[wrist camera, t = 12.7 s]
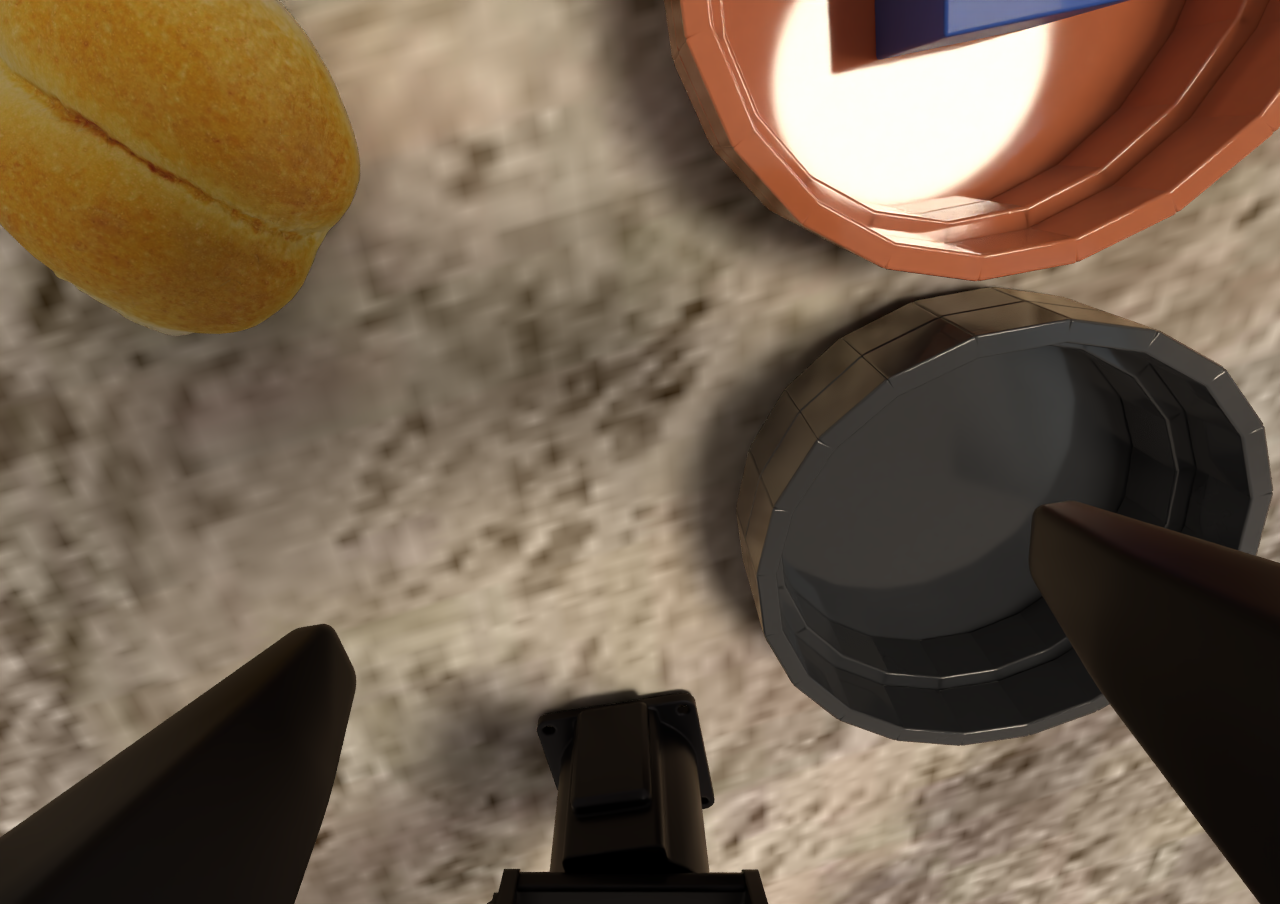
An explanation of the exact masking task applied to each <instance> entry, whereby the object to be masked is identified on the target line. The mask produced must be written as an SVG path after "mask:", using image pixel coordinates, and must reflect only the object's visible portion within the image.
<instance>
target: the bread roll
mask: <svg viewBox="0 0 1280 904" xmlns="http://www.w3.org/2000/svg"><path fill="white" fill-rule="evenodd" d="M359 178H360V161H359V153H358V148H357V144H356V140H355V136H354V132H353V130H352V127H351V124H350V121H349V118H348V115H347V113H346V110H345V107H344V105H343V102H342V100H341V98H340V95H339V93H338V90H337V88H336V86H335V84H334V81H333V79H332V77H331V75H330V73H329V71H328V69H327V68H326V66H325V64H324V63H323V61H322V59H321V58H320V56H319V54H318V52H317V51H316V49H315V47H314V46H313V44H312V42H311V41H310V39H309V37H308V36H307V35H306V33H305V32H304V31H303V30H302V28H301V27H300V26H299V24H298V23H297V22H296V20H295V19H294V18H293V16H292V15H291V14H290V13H289V12H288V10H287V9H286V8H285V7H284V6H283V5H282V4H281V3H280V2H279V1H277V0H0V224H1V225H2V226H3V228H4V229H6V230H7V231H8V232H9V233H10V234H11V235H12V236H13V237H14V238H15V239H16V240H17V241H18V242H19V243H20V244H21V245H22V246H23V247H24V248H25V249H26V250H27V251H28V252H29V253H30V254H31V255H33V256H34V257H35V258H36V259H38V260H39V261H41V262H42V263H43V264H45V265H46V266H47V267H49V268H50V269H51V270H53V271H54V273H55V274H56V276H57V277H58V278H60V279H63V280H65V281H68V282H70V283H72V284H73V285H74V286H75V287H76V288H77V289H78V290H80V291H82V292H84V293H86V294H88V295H89V296H91V297H92V298H93V299H95V300H96V301H98V302H100V303H102V304H104V305H106V306H108V307H110V308H111V309H113V310H115V311H116V312H118V313H120V314H121V315H122V316H124V317H125V318H127V319H129V320H131V321H133V322H135V323H137V324H139V325H143V326H145V327H147V328H149V329H153V330H156V331H158V332H161V333H164V334H167V335H173V336H181V335H188V334H191V333H208V334H222V333H231V332H237V331H241V330H245V329H248V328H251V327H254V326H256V325H258V324H260V323H261V322H263V321H265V320H266V319H268V318H269V317H270V316H272V315H273V314H274V313H276V312H277V311H279V310H280V309H281V308H282V307H284V306H285V305H286V304H287V303H288V302H289V301H291V300H292V298H293V297H294V296H295V295H296V293H297V292H298V291H299V289H300V288H301V287H302V285H303V283H304V281H305V279H306V277H307V275H308V272H309V270H310V268H311V266H312V264H313V261H314V258H315V255H316V252H317V250H318V248H319V246H320V245H321V243H322V241H323V240H324V238H325V236H326V234H327V233H328V231H329V229H331V228H332V227H333V226H334V225H335V224H336V223H337V222H338V221H339V220H340V219H341V217H342V216H343V215H344V213H345V212H346V211H347V209H348V208H349V206H350V204H351V202H352V200H353V197H354V195H355V192H356V189H357V185H358V182H359Z"/></svg>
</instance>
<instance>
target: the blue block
mask: <svg viewBox="0 0 1280 904" xmlns="http://www.w3.org/2000/svg"><path fill="white" fill-rule="evenodd" d="M1125 1H1129V0H875V30H876V57H877V59H879V60H881V59H885V58H890V57H895V56H900V55H904V54H909V53H914V52H919V51H923V50H928V49H933V48H938V47H943V46H947V45H952V44H957V43H962V42H966V41H971V40H976V39H981V38H985V37H990V36H995V35H1000V34H1005V33H1009V32H1014V31H1019V30H1024V29H1028V28H1033V27H1037V26H1040V25H1044V24H1047V23H1051V22H1055V21H1058V20H1062V19H1065V18H1069V17H1072V16H1076V15H1079V14H1083V13H1086V12H1090V11H1093V10H1097V9H1100V8H1104V7H1108V6H1111V5H1115V4H1118V3H1122V2H1125Z"/></svg>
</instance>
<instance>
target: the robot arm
mask: <svg viewBox="0 0 1280 904" xmlns="http://www.w3.org/2000/svg"><path fill="white" fill-rule="evenodd" d="M1028 564H1029V570H1030V574H1031V576H1032V579H1033V581H1034V583H1035V584H1036V586H1037V588H1038V589H1039V591H1040V593H1041V594H1042V596H1043V598H1044V599H1045V601H1046V603H1047V604H1048V606H1049V608H1050V609H1051V611H1052V613H1053V614H1054V616H1055V618H1056V619H1057V621H1058V623H1059V624H1060V626H1061V628H1062V629H1063V631H1064V633H1065V634H1066V636H1067V638H1068V639H1069V641H1070V643H1071V644H1072V646H1073V648H1074V649H1075V651H1076V653H1077V654H1078V656H1079V658H1080V659H1081V661H1082V663H1083V664H1084V666H1085V668H1086V669H1087V671H1088V673H1089V674H1090V676H1091V677H1092V679H1093V680H1094V682H1095V683H1096V685H1097V687H1098V688H1099V689H1100V691H1101V692H1102V694H1103V695H1104V696H1105V698H1106V699H1107V701H1108V702H1109V703H1110V705H1111V706H1112V708H1113V709H1114V710H1115V712H1116V713H1117V714H1118V716H1119V717H1120V718H1121V720H1122V721H1123V722H1124V723H1125V725H1126V726H1127V727H1128V729H1129V730H1130V731H1131V733H1132V734H1133V735H1134V737H1135V738H1136V739H1137V741H1138V742H1139V743H1140V745H1141V746H1142V747H1143V749H1144V750H1145V751H1146V753H1147V754H1148V755H1149V757H1150V758H1151V759H1152V761H1153V762H1154V763H1155V765H1156V766H1157V767H1158V769H1159V770H1160V771H1161V773H1162V774H1163V775H1164V777H1165V778H1166V779H1167V781H1168V782H1169V783H1170V785H1171V786H1172V787H1173V789H1174V790H1175V791H1176V793H1177V794H1178V795H1179V797H1180V798H1181V799H1182V801H1183V802H1184V803H1185V805H1186V806H1187V807H1188V809H1189V810H1190V811H1191V813H1192V814H1193V815H1194V817H1195V818H1196V819H1197V821H1198V822H1199V823H1200V825H1201V826H1202V827H1203V829H1204V830H1205V831H1206V833H1207V834H1208V835H1209V837H1210V838H1211V839H1212V841H1213V842H1214V843H1215V845H1216V846H1217V847H1218V849H1219V850H1220V851H1221V853H1222V854H1223V855H1224V857H1225V858H1226V859H1227V860H1228V862H1229V863H1230V864H1231V866H1232V867H1233V868H1234V870H1235V871H1236V872H1237V874H1238V875H1239V876H1240V878H1241V879H1242V880H1243V882H1244V883H1245V884H1246V886H1247V887H1248V888H1249V890H1250V891H1251V892H1252V894H1253V895H1254V896H1255V898H1256V899H1257V900H1258V902H1259V903H1260V904H1280V563H1278V562H1274V561H1271V560H1268V559H1265V558H1261V557H1258V556H1255V555H1251V554H1248V553H1245V552H1242V551H1238V550H1235V549H1232V548H1228V547H1225V546H1222V545H1219V544H1215V543H1212V542H1209V541H1205V540H1202V539H1199V538H1196V537H1192V536H1189V535H1186V534H1182V533H1179V532H1176V531H1173V530H1169V529H1166V528H1163V527H1159V526H1156V525H1153V524H1150V523H1146V522H1143V521H1140V520H1136V519H1133V518H1130V517H1126V516H1123V515H1120V514H1117V513H1113V512H1110V511H1107V510H1103V509H1100V508H1097V507H1094V506H1090V505H1087V504H1084V503H1080V502H1077V501H1063V502H1057V503H1051V504H1045V505H1040V506H1039V507H1037V508H1036V509H1035V511H1034V513H1033V516H1032V523H1031V534H1030V546H1029V558H1028ZM355 689H356V675H355V671H354V668H353V666H352V664H351V662H350V660H349V658H348V655H347V653H346V651H345V649H344V647H343V645H342V643H341V641H340V639H339V637H338V635H337V633H336V632H335V630H334V629H333V628H332V627H331V626H330V625H327V624H319V625H313V626H307V627H301V628H297V629H295V630H293V631H291V632H290V633H288V634H287V635H286V636H284V637H283V638H281V639H280V640H279V641H277V642H276V643H274V644H273V645H272V646H270V647H269V648H267V649H266V650H264V651H263V652H262V653H260V654H259V655H257V656H256V657H255V658H253V659H252V660H250V661H249V662H248V663H246V664H245V665H243V666H242V667H240V668H239V669H238V670H236V671H235V672H233V673H232V674H231V675H229V676H228V677H226V678H225V679H223V680H222V681H221V682H219V683H218V684H216V685H215V686H214V687H212V688H211V689H209V690H208V691H207V692H205V693H204V694H202V695H201V696H199V697H198V698H197V699H195V700H194V701H192V702H191V703H190V704H188V705H187V706H185V707H184V708H183V709H181V710H180V711H178V712H177V713H175V714H174V715H173V716H171V717H170V718H168V719H167V720H166V721H164V722H163V723H161V724H160V725H158V726H157V727H156V728H154V729H153V730H151V731H150V732H149V733H147V734H146V735H144V736H143V737H142V738H140V739H139V740H137V741H136V742H134V743H133V744H132V745H130V746H129V747H127V748H126V749H125V750H123V751H122V752H120V753H119V754H118V755H116V756H115V757H113V758H112V759H110V760H109V761H108V762H106V763H105V764H103V765H102V766H101V767H99V768H98V769H96V770H95V771H93V772H92V773H91V774H89V775H88V776H86V777H85V778H84V779H82V780H81V781H79V782H78V783H77V784H75V785H74V786H72V787H71V788H69V789H68V790H67V791H65V792H64V793H62V794H61V795H60V796H58V797H57V798H55V799H54V800H53V801H51V802H50V803H48V804H47V805H45V806H44V807H43V808H41V809H40V810H38V811H37V812H36V813H34V814H33V815H31V816H30V817H29V818H27V819H26V820H24V821H23V822H21V823H20V824H19V825H17V826H16V827H14V828H13V829H12V830H10V831H9V832H7V833H6V834H4V835H3V836H2V837H0V904H294V903H295V900H296V897H297V894H298V891H299V888H300V885H301V883H302V880H303V877H304V874H305V871H306V868H307V865H308V862H309V859H310V856H311V853H312V850H313V847H314V845H315V842H316V839H317V836H318V833H319V830H320V827H321V824H322V821H323V818H324V815H325V812H326V808H327V805H328V802H329V798H330V795H331V791H332V787H333V783H334V779H335V775H336V771H337V767H338V762H339V758H340V754H341V750H342V745H343V741H344V737H345V732H346V728H347V724H348V720H349V715H350V711H351V707H352V703H353V698H354V694H355ZM682 705H686V706H685V707H680V706H682ZM548 726H552V727H548ZM537 733H538V736H539V739H540V741H541V744H542V747H543V750H544V753H545V756H546V759H547V761H548V764H549V767H550V770H551V773H552V776H553V778H554V781H555V784H556V787H557V790H558V796H557V806H556V816H555V825H554V835H553V845H552V854H551V864H550V872H520V869H504V871H503V876H502V880H501V884H500V888H499V892H498V893H494V895H493V899H492V901H490V902H488V903H487V904H768V902H767V898H766V895H765V892H764V888H763V885H762V881H761V878H760V874H759V871H758V870H742V872H741V873H709V864H708V856H707V847H706V839H705V830H704V821H703V813H702V809H705V808H709V807H710V806H712V805H713V803H714V793H713V787H712V782H711V777H710V772H709V767H708V762H707V757H706V752H705V747H704V742H703V738H702V733H701V728H700V723H699V718H698V713H697V708H696V703H695V699H694V697H693V696H691V695H690V694H687V693H679V694H672V695H666V696H659V697H653V698H646V699H640V700H633V701H626V702H620V703H613V704H607V705H600V706H594V707H587V708H581V709H574V710H568V711H561V712H555V713H548V714H545V715H542V716H541V717H540V718H539V720H538V725H537Z"/></svg>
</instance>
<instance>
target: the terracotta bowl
mask: <svg viewBox="0 0 1280 904" xmlns="http://www.w3.org/2000/svg"><path fill="white" fill-rule="evenodd" d="M664 4H665V11H666V18H667V25H668V33H669V40H670V47H671V54H672V59H673V60H675V61H674V65H675V67H676V69H677V72H678V74H679V76H680V78H681V81H682V83H683V85H684V87H685V90H686V92H687V94H688V96H689V98H690V101H691V103H692V105H693V107H694V110H695V112H696V114H697V116H698V119H699V121H700V123H701V125H702V127H703V130H704V132H705V134H706V136H707V139H708V141H709V143H710V144H711V145H712V146H713V147H712V148H713V150H714V151H715V152H716V153H717V154H718V155H719V156H720V157H721V159H722V160H723V161H724V162H725V163H726V164H727V165H728V166H729V167H730V168H731V170H732V171H733V172H734V173H735V174H736V175H737V176H738V177H739V178H740V179H741V181H742V182H743V183H744V184H745V185H746V186H747V187H748V188H749V189H750V190H751V192H752V193H753V194H754V195H755V196H756V197H757V198H758V199H759V200H760V201H761V203H762V204H763V205H764V206H765V207H766V208H768V209H769V210H770V211H772V212H774V213H776V214H777V215H779V216H781V217H783V218H785V219H787V220H789V221H791V222H793V223H794V224H796V225H798V226H800V227H802V228H804V229H806V230H808V231H810V232H811V233H813V234H815V235H817V236H819V237H821V238H823V239H825V240H827V241H828V242H830V243H832V244H834V245H836V246H838V247H840V248H842V249H844V250H847V251H849V252H851V253H853V254H855V255H857V256H859V257H861V258H863V259H865V260H867V261H869V262H871V263H873V264H875V265H877V266H879V267H881V268H885V269H889V270H896V271H903V272H911V273H918V274H926V275H933V276H940V277H948V278H955V279H962V280H970V281H977V280H978V281H982V280H987V279H992V278H998V277H1003V276H1009V275H1014V274H1019V273H1025V272H1030V271H1035V270H1041V269H1046V268H1052V267H1057V266H1062V265H1068V264H1073V263H1075V262H1078V261H1081V260H1083V259H1085V258H1087V257H1089V256H1091V255H1093V254H1095V253H1097V252H1099V251H1101V250H1103V249H1105V248H1107V247H1109V246H1111V245H1113V244H1115V243H1117V242H1119V241H1121V240H1123V239H1125V238H1128V237H1130V236H1132V235H1134V234H1136V233H1138V232H1140V231H1142V230H1144V229H1146V228H1148V227H1150V226H1152V225H1154V224H1156V223H1158V222H1160V221H1162V220H1164V219H1166V218H1168V217H1170V216H1172V215H1174V214H1175V213H1176V212H1178V211H1180V210H1182V209H1183V208H1184V207H1185V206H1186V205H1188V204H1189V203H1190V202H1191V201H1192V200H1194V199H1195V198H1196V197H1197V196H1199V195H1200V194H1201V193H1202V192H1203V191H1205V190H1206V189H1207V188H1208V187H1209V186H1211V185H1212V184H1213V183H1214V182H1215V181H1217V180H1218V179H1219V178H1220V177H1222V176H1223V175H1224V174H1225V173H1226V172H1228V171H1229V170H1230V169H1231V168H1232V167H1234V166H1235V165H1236V164H1237V163H1238V162H1240V161H1241V160H1242V159H1243V158H1245V157H1246V156H1247V155H1248V154H1249V153H1251V152H1252V151H1253V150H1254V149H1255V148H1257V147H1258V146H1259V145H1260V144H1262V143H1263V142H1264V141H1265V140H1266V139H1268V138H1269V137H1270V136H1271V135H1272V134H1273V132H1274V131H1276V130H1277V129H1278V128H1279V127H1280V0H1129V1H1125V2H1122V3H1118V4H1115V5H1111V6H1108V7H1104V8H1100V9H1097V10H1093V11H1090V12H1086V13H1083V14H1079V15H1076V16H1072V17H1069V18H1065V19H1062V20H1058V21H1055V22H1051V23H1047V24H1044V25H1040V26H1037V27H1033V28H1028V29H1024V30H1019V31H1014V32H1009V33H1005V34H1000V35H995V36H990V37H985V38H981V39H976V40H971V41H966V42H962V43H957V44H952V45H947V46H943V47H938V48H933V49H928V50H923V51H919V52H914V53H909V54H904V55H900V56H895V57H890V58H885V59H881V60H879V59H877V57H876V30H875V0H664Z"/></svg>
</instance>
